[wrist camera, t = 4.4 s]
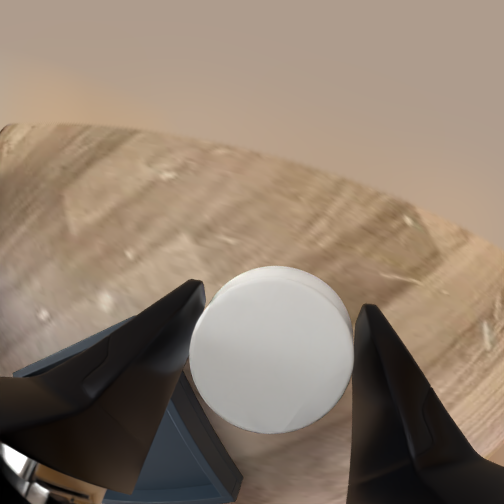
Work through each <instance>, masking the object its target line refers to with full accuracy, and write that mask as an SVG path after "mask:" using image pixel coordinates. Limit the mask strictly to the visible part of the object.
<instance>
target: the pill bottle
mask: <svg viewBox="0 0 504 504" xmlns="http://www.w3.org/2000/svg"><path fill="white" fill-rule="evenodd" d="M189 360H190V369H191V374H192V377H193V381H194V383H195V386H196V388H197V390H198V391H199V393H200V395H201V397H202V398H203V400H204V401H205V402H206V404H207V405H208V406H209V407H210V408H211V409H212V410H213V411H214V412H215V413H216V414H217V415H219V416H220V417H221V418H223V419H224V420H225V421H227V422H228V423H230V424H232V425H234V426H236V427H239V428H241V429H244V430H247V431H251V432H255V433H263V434H280V433H287V432H292V431H296V430H299V429H302V428H304V427H306V426H309V425H311V424H313V423H314V422H316V421H318V420H319V419H321V418H322V417H323V416H325V415H326V414H327V413H328V412H329V411H330V410H331V409H332V408H333V407H334V406H335V405H336V404H337V402H338V401H339V400H340V399H341V397H342V396H343V394H344V392H345V390H346V388H347V386H348V384H349V381H350V378H351V375H352V371H353V365H354V346H353V329H352V324H351V319H350V317H349V314H348V312H347V309H346V307H345V305H344V304H343V302H342V300H341V299H340V297H339V296H338V295H337V294H336V292H335V291H334V290H333V289H332V288H331V287H330V286H329V285H327V284H326V283H325V282H324V281H322V280H321V279H319V278H318V277H316V276H314V275H312V274H309V273H307V272H305V271H302V270H299V269H296V268H292V267H285V266H266V267H260V268H255V269H252V270H249V271H247V272H244V273H242V274H240V275H238V276H236V277H235V278H233V279H232V280H230V281H229V282H228V283H226V284H225V285H224V286H223V287H222V288H221V289H220V290H219V291H218V292H217V293H216V294H215V296H214V297H213V298H212V300H211V301H210V303H209V305H208V306H207V308H206V309H205V310H204V312H203V313H202V315H201V316H200V318H199V320H198V321H197V323H196V326H195V328H194V331H193V334H192V338H191V342H190V349H189Z"/></svg>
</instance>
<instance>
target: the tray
mask: <svg viewBox="0 0 504 504" xmlns="http://www.w3.org/2000/svg"><path fill="white" fill-rule="evenodd" d="M134 317H135V316H132V317H130V318H128V319H126V320H124V321H122V322H120V323H118V324H116V325H114V326H111V327H109V328H107V329H105V330H103V331H101V332H99V333H97V334H95V335H93V336H90V337H88V338H86V339H84V340H82V341H80V342H78V343H76V344H74V345H71V346H69V347H67V348H65V349H63V350H61V351H59V352H57V353H55V354H52V355H50V356H48V357H46V358H44V359H42V360H40V361H37V362H35V363H33V364H31V365H29V366H27V367H25V368H22V369H20V370H18V371H16V372H14V373H13V376H14V377H35V376H39V375H42V374H44V373H46V372H48V371H50V370H51V369H53V368H55V367H57V366H59V365H60V364H62V363H64V362H66V361H68V360H69V359H71V358H73V357H75V356H76V355H78V354H80V353H81V352H83V351H85V350H86V349H88V348H89V347H91V346H93V345H94V344H96V343H97V342H99V341H100V340H101V339H103V338H104V337H106V336H109V334H110V333H112V332H113V331H115V330H116V329H118V328H119V327H120V326H122V325H123V324H125V323H126V322H128V321H129V320H131V319H132V318H134ZM242 480H243V476H242V475H241V473H240V472H239V470H238V469H237V467H236V466H235V464H234V463H233V461H232V460H231V458H230V457H229V455H228V453H227V452H226V450H225V448H224V447H223V445H222V444H221V442H220V440H219V438H218V437H217V435H216V433H215V432H214V430H213V428H212V426H211V425H210V423H209V421H208V419H207V417H206V416H205V414H204V412H203V410H202V408H201V406H200V404H199V403H198V401H197V399H196V397H195V395H194V393H193V391H192V389H191V387H190V385H189V383H188V381H187V379H186V377H185V375H184V373H183V371H182V373H181V375H180V377H179V380H178V382H177V384H176V387H175V389H174V392H173V394H172V396H171V399H170V401H169V403H168V406H167V408H166V411H165V413H164V415H163V418H162V420H161V423H160V425H159V428H158V430H157V432H156V435H155V437H154V440H153V442H152V445H151V447H150V450H149V452H148V455H147V457H146V460H145V462H144V465H143V467H142V470H141V472H140V475H139V477H138V480H137V482H136V485H135V487H134V490H133V492H132V494H131V495H128V494H124V493H120V492H116V491H112V490H109V489H107V490H106V493H105V495H104V498H103V500H102V503H101V504H223V503H230V502H235V501H236V499H237V496H238V493H239V490H240V487H241V483H242Z"/></svg>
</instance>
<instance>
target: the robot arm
mask: <svg viewBox="0 0 504 504" xmlns="http://www.w3.org/2000/svg"><path fill="white" fill-rule="evenodd" d="M205 303H206V298H205V291H204V284H203V282H202V281H200V280H195V279H190V280H188V281H186V282H185V283H184V284H182V285H181V286H179V287H178V288H176V289H175V290H173V291H172V292H170V293H169V294H167V295H166V296H164V297H163V298H161V299H160V300H158V301H157V302H155V303H154V304H153V305H151V306H150V307H148V308H147V309H145V310H144V311H142V312H141V313H139V314H138V315H136V316H135V317H134V318H132V319H131V320H129V321H128V322H126V323H125V324H123V325H122V326H120V327H119V328H118V329H116V330H115V331H113V332H112V333H110V334H109V336H106V337H104V338H103V339H101V340H100V341H99V342H97V343H96V344H94V345H93V346H91V347H89V348H88V349H86V350H85V351H83V352H81V353H80V354H78V355H76V356H75V357H73V358H71V359H69V360H68V361H66V362H64V363H62V364H60V365H59V366H57V367H55V368H53V369H51V370H50V371H48V372H46V373H44V374H42V375H39V376H35V377H0V504H101V503H102V500H103V498H104V495H105V493H106V490H107V489H109V490H112V491H116V492H120V493H124V494H128V495H131V494H132V492H133V490H134V487H135V485H136V482H137V480H138V477H139V475H140V472H141V470H142V467H143V465H144V462H145V460H146V457H147V455H148V452H149V450H150V447H151V445H152V442H153V440H154V437H155V435H156V432H157V430H158V428H159V425H160V423H161V420H162V418H163V415H164V413H165V411H166V408H167V406H168V403H169V401H170V399H171V396H172V394H173V392H174V389H175V387H176V384H177V382H178V380H179V377H180V375H181V373H182V370H183V368H184V366H185V363H186V361H187V359H188V356H189V349H190V342H191V338H192V334H193V331H194V328H195V326H196V323H197V321H198V320H199V318H200V316H201V315H202V313H203V311H204V308H205ZM348 484H349V485H348V492H347V500H346V504H504V467H503V466H500V465H498V464H495V463H493V462H491V461H488V460H486V459H484V458H483V457H481V456H480V455H479V454H478V453H477V452H476V451H475V450H474V449H473V448H472V446H471V445H470V443H469V442H468V440H467V439H466V438H465V436H464V435H463V433H462V432H461V430H460V429H459V428H458V426H457V425H456V423H455V422H454V421H453V419H452V418H451V416H450V415H449V413H448V412H447V411H446V409H445V408H444V406H443V404H442V403H441V401H440V400H439V398H438V396H437V395H436V393H435V392H434V390H433V388H432V387H431V385H430V384H429V382H428V380H427V379H426V377H425V376H424V374H423V372H422V371H421V369H420V368H419V366H418V365H417V363H416V362H415V360H414V358H413V357H412V355H411V354H410V352H409V351H408V349H407V348H406V346H405V345H404V344H403V342H402V341H401V339H400V338H399V336H398V335H397V333H396V332H395V330H394V329H393V328H392V326H391V325H390V323H389V322H388V320H387V319H386V318H385V316H384V315H383V313H382V312H381V311H380V309H379V308H378V307H377V306H376V305H375V304H363V306H362V308H361V310H360V313H359V315H358V318H357V320H356V324H355V336H354V365H353V371H352V442H351V459H350V472H349V483H348Z"/></svg>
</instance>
